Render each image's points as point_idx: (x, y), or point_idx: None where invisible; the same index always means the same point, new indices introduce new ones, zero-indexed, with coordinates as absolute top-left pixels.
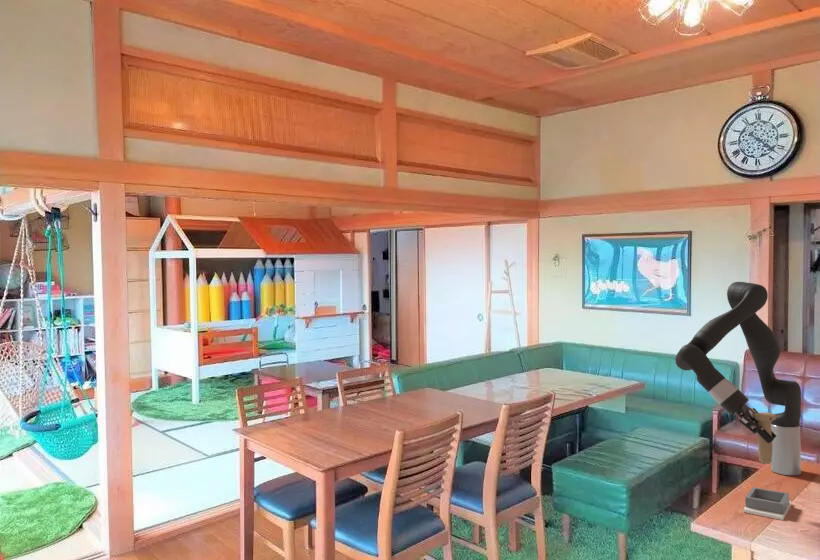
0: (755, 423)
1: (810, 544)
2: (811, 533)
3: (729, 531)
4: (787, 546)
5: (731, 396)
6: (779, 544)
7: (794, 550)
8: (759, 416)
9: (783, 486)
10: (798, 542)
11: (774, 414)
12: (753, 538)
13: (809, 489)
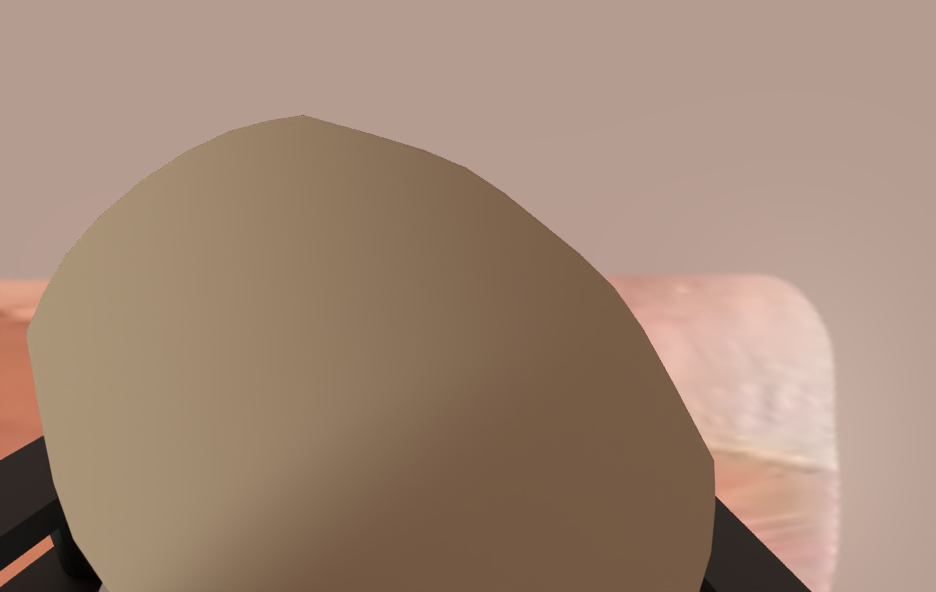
0: (733, 587)
1: (718, 283)
2: (613, 281)
3: (796, 571)
4: (787, 349)
5: None
6: (789, 375)
7: (805, 327)
8: (713, 517)
9: (24, 410)
10: (726, 318)
11: (252, 147)
12: (800, 467)
13: (38, 296)
